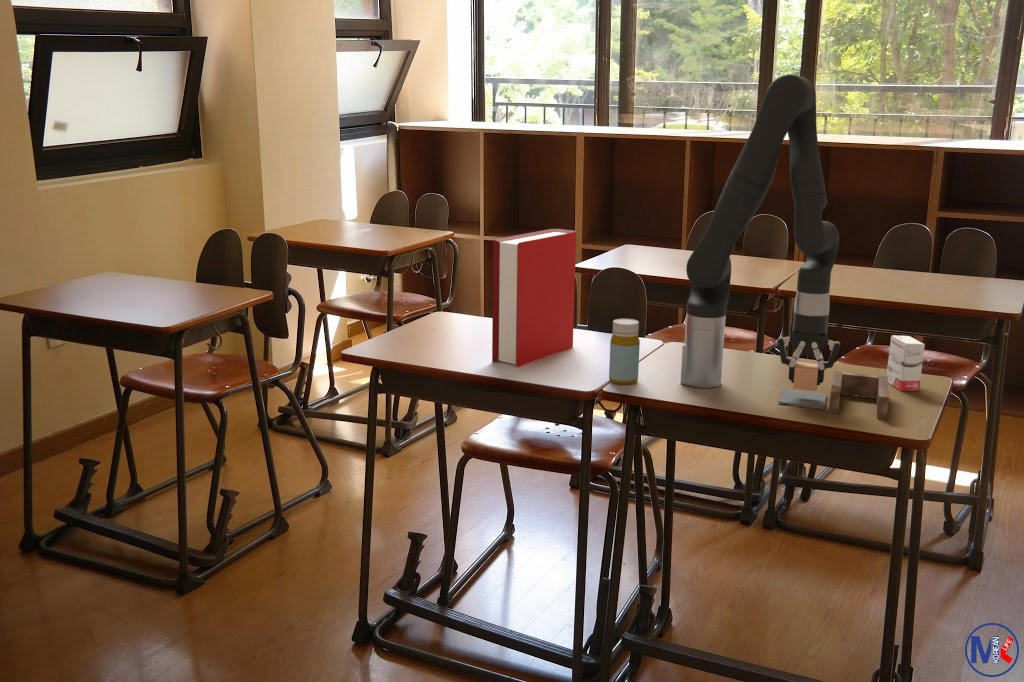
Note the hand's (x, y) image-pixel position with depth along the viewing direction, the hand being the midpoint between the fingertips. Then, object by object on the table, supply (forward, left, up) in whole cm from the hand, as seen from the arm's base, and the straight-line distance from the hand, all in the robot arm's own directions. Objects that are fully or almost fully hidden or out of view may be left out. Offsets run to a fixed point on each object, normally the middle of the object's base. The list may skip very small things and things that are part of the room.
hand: (805, 382), depth 221 cm
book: (-70, +15, -4) cm, 72 cm away
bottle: (-42, -1, -4) cm, 42 cm away
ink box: (+22, +21, -4) cm, 30 cm away
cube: (0, -1, -1) cm, 1 cm away
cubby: (+12, +1, -4) cm, 13 cm away
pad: (0, 0, -4) cm, 4 cm away
